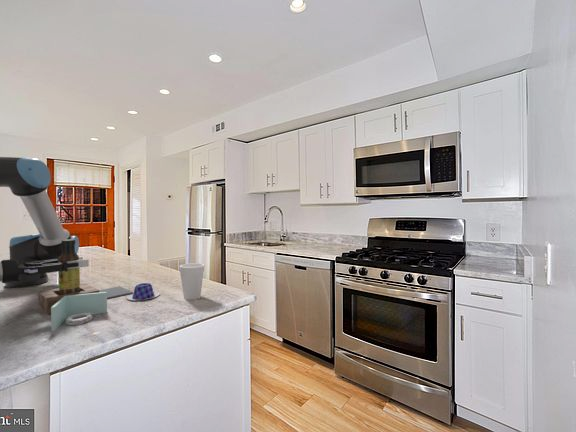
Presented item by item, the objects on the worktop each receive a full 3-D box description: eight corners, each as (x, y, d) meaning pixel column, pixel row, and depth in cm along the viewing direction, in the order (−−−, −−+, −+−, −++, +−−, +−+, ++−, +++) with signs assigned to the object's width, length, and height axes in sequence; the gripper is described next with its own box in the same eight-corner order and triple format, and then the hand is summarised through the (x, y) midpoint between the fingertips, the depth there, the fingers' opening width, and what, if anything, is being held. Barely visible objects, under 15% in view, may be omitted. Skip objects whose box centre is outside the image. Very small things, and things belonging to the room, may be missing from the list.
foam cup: (196, 301, 109) (196, 268, 109) (175, 300, 111) (174, 267, 111) (208, 294, 119) (208, 263, 118) (188, 293, 121) (188, 262, 120)
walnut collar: (38, 305, 105) (38, 291, 105) (86, 295, 117) (86, 283, 117) (48, 314, 96) (48, 300, 96) (99, 303, 107) (99, 290, 107)
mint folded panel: (51, 332, 84) (51, 307, 83) (65, 318, 95) (64, 295, 94) (99, 326, 88) (99, 302, 88) (107, 313, 99) (106, 291, 99)
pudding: (138, 292, 122) (138, 280, 122) (165, 293, 121) (165, 281, 121) (119, 301, 110) (119, 288, 110) (149, 302, 109) (149, 289, 109)
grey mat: (88, 293, 120) (88, 292, 120) (119, 287, 129) (119, 286, 129) (100, 300, 111) (100, 298, 111) (132, 293, 120) (132, 291, 120)
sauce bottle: (59, 292, 106) (58, 239, 106) (79, 289, 110) (78, 238, 110) (58, 296, 101) (57, 240, 101) (80, 293, 105) (79, 239, 105)
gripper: (-4, 278, 98) (77, 267, 116) (5, 289, 86) (94, 275, 104) (-4, 257, 97) (77, 249, 115) (4, 264, 85) (93, 254, 103)
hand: (85, 261), depth 109 cm, fingers closed on sauce bottle, 6 cm apart
